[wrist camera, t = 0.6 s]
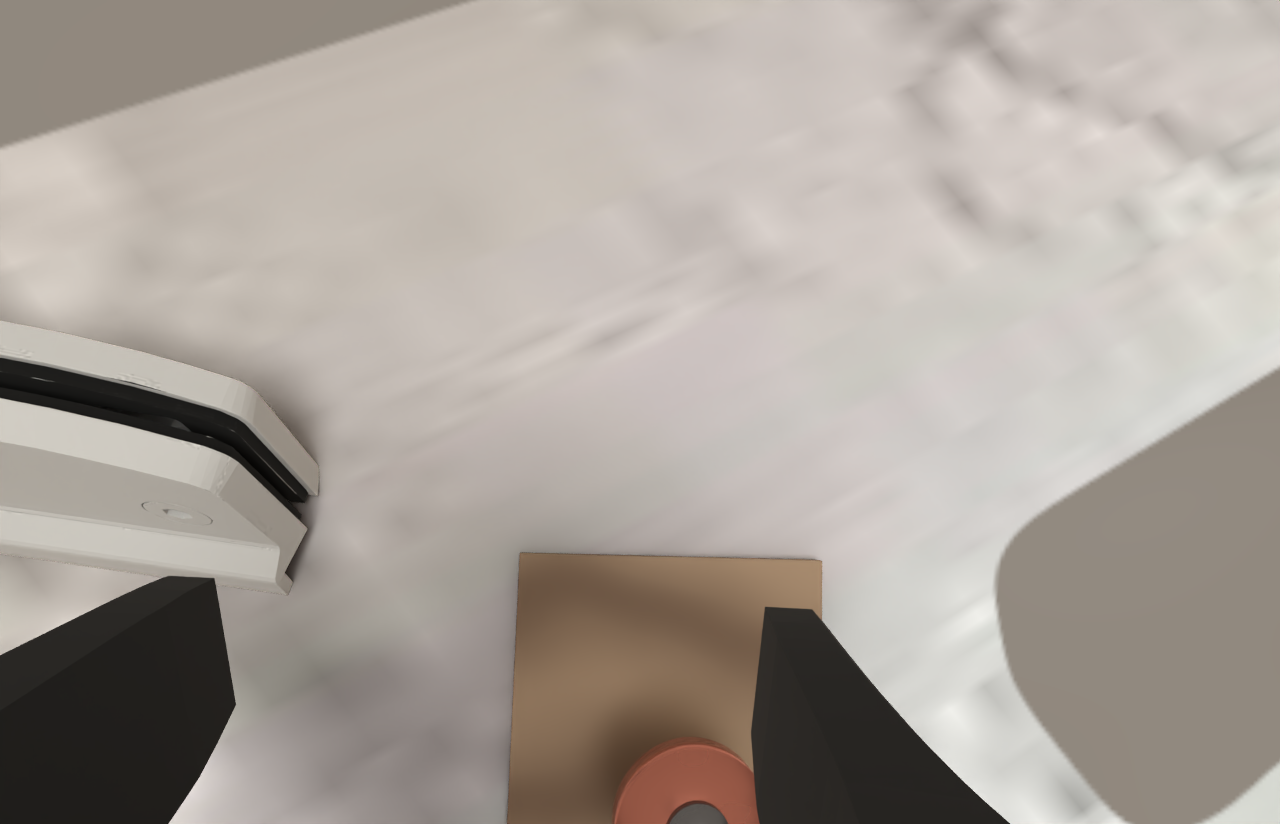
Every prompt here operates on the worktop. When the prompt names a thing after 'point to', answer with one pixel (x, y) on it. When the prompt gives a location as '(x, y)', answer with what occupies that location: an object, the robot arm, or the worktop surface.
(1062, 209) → the worktop surface
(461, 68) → the worktop surface
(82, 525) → the grey rounded block
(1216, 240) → the worktop surface
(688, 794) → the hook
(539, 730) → the board
